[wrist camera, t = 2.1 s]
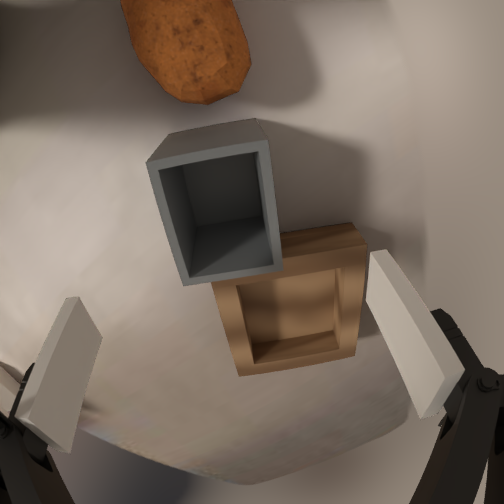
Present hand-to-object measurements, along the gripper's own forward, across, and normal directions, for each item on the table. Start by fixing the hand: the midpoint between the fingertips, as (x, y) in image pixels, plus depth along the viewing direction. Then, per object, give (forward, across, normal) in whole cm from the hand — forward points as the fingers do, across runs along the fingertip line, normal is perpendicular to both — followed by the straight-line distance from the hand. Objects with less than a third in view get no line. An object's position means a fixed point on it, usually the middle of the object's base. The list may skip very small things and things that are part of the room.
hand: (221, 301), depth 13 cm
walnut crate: (+15, +4, -14) cm, 21 cm away
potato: (+15, -1, +13) cm, 20 cm away
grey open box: (+15, 0, 0) cm, 15 cm away
